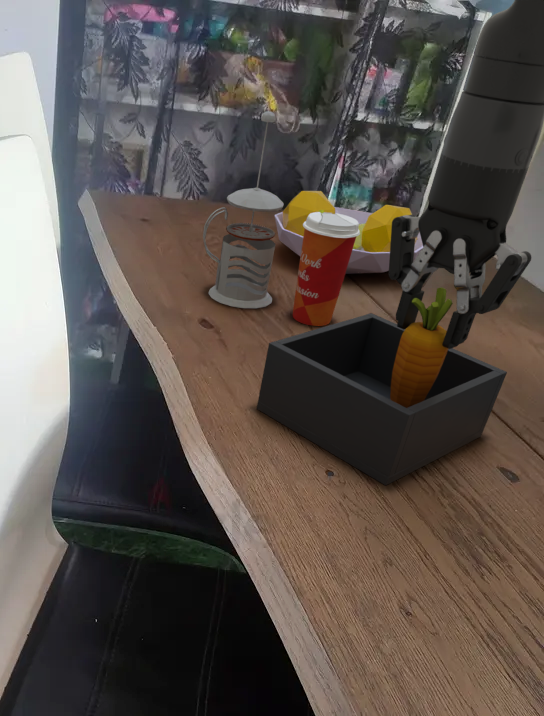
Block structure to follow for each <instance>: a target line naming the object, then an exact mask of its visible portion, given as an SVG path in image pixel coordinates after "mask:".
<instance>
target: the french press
mask: <svg viewBox="0 0 544 716" xmlns="http://www.w3.org/2000/svg"><path fill="white" fill-rule="evenodd" d="M260 119H261V121H262V122H264V123H266V125H265V131H264V138H263V144H262V151H261V155H260V157H261V158H260V163H259V169H258V170H259V171H258V175H257V183H256V187H253V188H252V187H251V188H243V189H239V190H235V191H234V192H232V193H230V194H229V195H227V197H226V200H227V201H226V202H227V203H228V204H229V205H230V206H233V207H235V208H237V209H242V210H246V211H251V212H252V214H251V221H250V222H236V223H231V224H228V225H227V226H226V227H225V230H226V232H227V234H224V235H223V237H222V244H221V249H220V257H219V256H216V255H215V254H213V253H212V252H211V251H210V249H209V248H208V245H207V241H206V237H207V231H208V229H209V226H210V224H211V222H212V221H213V219H214V220H215V218H216V217H217V216H218V215H220V214H222V213H223V214H224V220H225V221H227V220H228V217H229V216H228V215H229V212H228V209H227V207H224V206H222V207H220V208H218V209H215V210H214V211H213V212H212V213H211V214H210V215H209V216H208V218H207V219H206V221H205V224H204V226H203V231H202V232H203V233H202V241H203V246H204V250H205V252H206V254H207V255H208V256H209V258H210V259H211V260H213V261H214V262H216V263H217V268H216V276H215V283H214V285H213V286H212V287H210V289H209V291H208V295H209V297H210V298H211V299H213V300H214V301H216V302H218V303H220V304H223V305H226V306H230V307H234V308H240V309H260V308H266V307H267V306H269V305H270V304H272V302H273V297H272V296H271V295H270V294H269V292H268V288H269V283H270V278H271V277H270V276H271V272H272V271H271V270H272V267H273V266H272V265H273V260H274V254H275V249H276V243H275V242H274V240H272V239H274V238H275V236H276V231H274V230H273V229H271V227H267V226H264V225H260V224H256V223H253V222H254V215H255V212H261V213H262V212H263V213H271V212H272V213H274V212H278V211H281V210H282V209H283V207H284V202H283V201H282V200H281V199H280V198H279V197H278V196H277V195H275V194H274V193H272V192H270V191H268V190H265V189H261V188H260V187H259V184H260V178H261V171H262V165H263V159H264V152H265V146H266V140H267V133H268V127H269V123H275V122H276V114H275V112H273V111H271V110H270V111H269V110H268V111H264V112H263V113H262V115H261V118H260ZM236 241H240V242H245V243H246V244H248V245H249V246H251V247H252V248H254V249H250V248H248V247H247V246H245V245H242V244H235V245H232V244H231V243H232V242H236ZM236 258H237V259H236ZM234 259H235V260H234ZM232 267H237V268H232ZM240 268H242V269H240Z"/></svg>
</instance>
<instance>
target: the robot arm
mask: <svg viewBox="0 0 544 716" xmlns="http://www.w3.org/2000/svg"><path fill="white" fill-rule="evenodd" d="M462 90H463V91H461V94H460V97H459V100H458V102H457V103H456V104H457V105H456V107H455V109H454V112H453V113H452V117H451V119H450V122H449V125H448V129H447V131H446V133H445V134H446V135H445V137H444V139H443V145H442V149H441V152H440V156H439V158H438V162H437V166H436V168H435V172H434V176H433V180H432V182H431V185H430V186H431V187H430V189H429V193H428V197H427V207H426V208H425V210H424V212H423V213H422V214H421V215H420V216H416V215H414V214H412V215H405V216H400V217H396V218H394V219H393V221H392V229H391V244H390V260H389V271H388V277H389V279H390V280H391V281H396V282H397V283H398V284H399V285H400V286H401V294H400V295H401V296H400V299H399V302H398V306H397V308H396V312H395V321H396V322H397V323H396V324H397V327H399V328H401V329H406V328H407V327H408V326H409V325H410V324H412V323H415V322H416V320H417V318H418V314H419V312H420V311H419V310H418V308H417V307H416V306H415V305H414V304H413V303H412V300H413V299H414V298H418V299H419V300H421V301H422V302H423V298H424V294H425V291H423V290H422V289H423V288H424V287H425V286H426V284H427V283H428V282H429V280H430V279H431V277H432V276H433V275H434V273H435V272H436V271H437V270H439V269H444V270H446V272H448V273H449V274H452V275H453V287H454V289H455V290H456V307H455V308H456V310H454V311H452V314H451V317H450V321H449V323H448V327H447V330H446V331H447V332H446V335H445V338H444V341H443V344H442V346H443V347H445V348H448V349H451V348H453V349H455V348H456V347H458V346H459V345H461V344H463V343H465V342H466V340H467V339H468V336H469V333H470V331H471V328H472V325H473V322H474V320H475V317H476V315H477V314H479V315H484V314H487V313H490V312H493V311H496V310H498V309H499V308H500V307H501V305H502V304H503V303H504V301H505V300H506V298H507V297H508V295H509V294H510V292H511V291H512V290H513V288H514V286H515V285H516V283H517V282H518V281H519V279H520V277H521V276H522V275H523V273H524V272H525V270H526V269H527V267H528V266H529V265H530V263H531V261H532V254H531V253H530V252H529V251H526V250H523V251H519V250H517V249H515V248H514V247H513V246H511V244H508V243H507V226H508V223H509V221H510V219H511V217H512V215H513V212H514V209H515V207H516V204H517V201H518V199H519V196H520V193H521V190H522V187H523V184H524V182H525V180H526V176H527V174H528V170H529V169H530V165H531V162H532V160H533V158H534V157H533V156H534V154H535V152H536V149H537V145H538V143H539V140H540V137H541V134H542V130H543V126H544V0H514V1H513V2H512V4H511V5H510V6H509V7H508V8H507V9H504V10H501V11H499V12H496V13H494V14H493V15H491V16H490V17H489V18H488V19H487V20H486V21H485V23H484V24H483V26H482V28H481V31H480V32H479V35H478V38H477V41H476V44H475V47H474V51H473V55H472V57H471V61H470V65H469V67H468V72H467V75H466V78H465V83H464V85H463V88H462ZM419 232H420V236H421V240H422V244H423V248H422V250H421V251H420V253H419V254H418V256H417V257H416V259H415V260H414V247H415V238H416V237H417V236H418V234H419ZM495 256H496V257H497V260H496V263H495V267H494V268H495V270H496V271H497V272H496V273H495V275H494V276H493V277H492V279H491V281H490V282H489V284H488V285H487V287H486V288H485V290H484V291H483V285H484V284H485V283H486V282H485V281H486V263H487V262H488V261H490V260H491V259H492V258H494V257H495ZM413 260H414V262H413Z"/></svg>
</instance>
